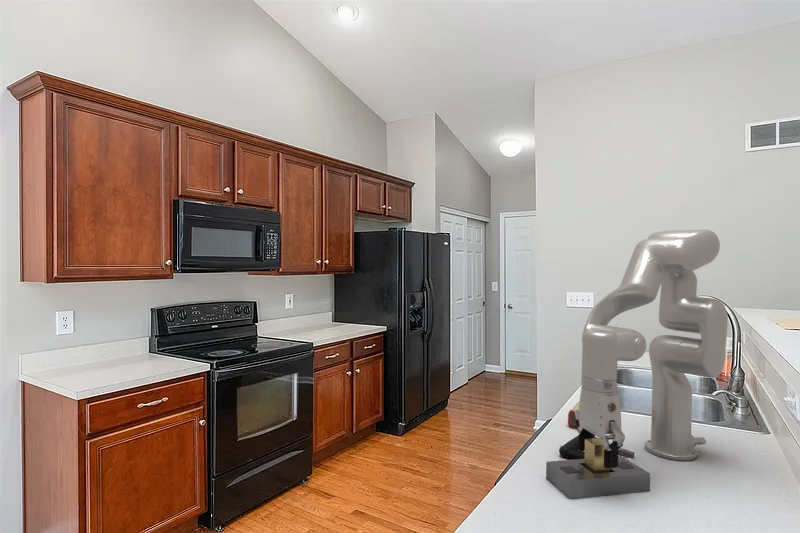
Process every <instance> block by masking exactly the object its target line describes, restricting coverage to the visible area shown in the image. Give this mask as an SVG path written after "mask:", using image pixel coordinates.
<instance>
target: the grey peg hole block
mask: <svg viewBox="0 0 800 533" xmlns="http://www.w3.org/2000/svg"><path fill="white" fill-rule="evenodd" d="M545 462H546V464H545V479H546V480H547V481H548V482H549V483H550V484H551V485H553V486H554V487H555V488H556V489H557V490H558V491H559V492H561V493H562V494H563V495H564V496H565V497H566V498H567V499H569V500H574V499H584V498H585V499H586V498H596V497H604V496H607V497H608V496H616V495H626V494H635V493H636V494H638V493H648V492H651V473H650V472H648V470H646V469H643V467H640V466H639V465H637V464H635V463H634V462H632V461H630V460H629V459H628V458H626V457H622V456H618V467H617V468H610V472H608V473H597V474H593V473H592V472H590V471H589V470H588V469H586V468H585V467H584V459H575V460H574V459H565V460H564V459H563V460H552V461H551V460H550V461H545Z"/></svg>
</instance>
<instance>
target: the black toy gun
mask: <svg viewBox="0 0 800 533" xmlns="http://www.w3.org/2000/svg"><path fill="white" fill-rule="evenodd" d="M593 438H598V437H597V436H596V435H594V434H592V439H593ZM578 443H579V434H578V435H576V436H575V437H573V438H572V439H570V440H569V441H568V442H566V443H565V444H563V445H559V449H558V453H559V455H560V456H561V457H562V458H565V459H566V458H568V459H570V460H575V459H584V458H585V451H580V450H579V449H578ZM635 454H636V453H635V451H632V450H629V449H625V448H623V447H621V448H620V450H618V455H619V456H623V457H624V458H626V457H627V458H626V459H629V458H631V459H630V460H634V458H635Z"/></svg>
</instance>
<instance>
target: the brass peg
mask: <svg viewBox="0 0 800 533" xmlns="http://www.w3.org/2000/svg"><path fill="white" fill-rule="evenodd" d="M604 449H606V447H605V444H604V442H603V439H601V438H599V437H597V438H593V439H585V458H584V467H585V468H586V469H588V470H589V471H590V472H592V473H593V474H597V473H608V472H610V468H605V467H604Z"/></svg>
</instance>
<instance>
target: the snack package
mask: <svg viewBox="0 0 800 533" xmlns="http://www.w3.org/2000/svg"><path fill="white" fill-rule="evenodd" d="M579 403H580V400H579V401H578V402H577V403H576V404H575V405H574V406H573V408H572V409H570V410H569V411H568V414H567V425H568V427H569V428H570V429H572V430H577V429H578V426H577V424H576V420H577V419H576V417H575V411H576V410H579Z"/></svg>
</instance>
